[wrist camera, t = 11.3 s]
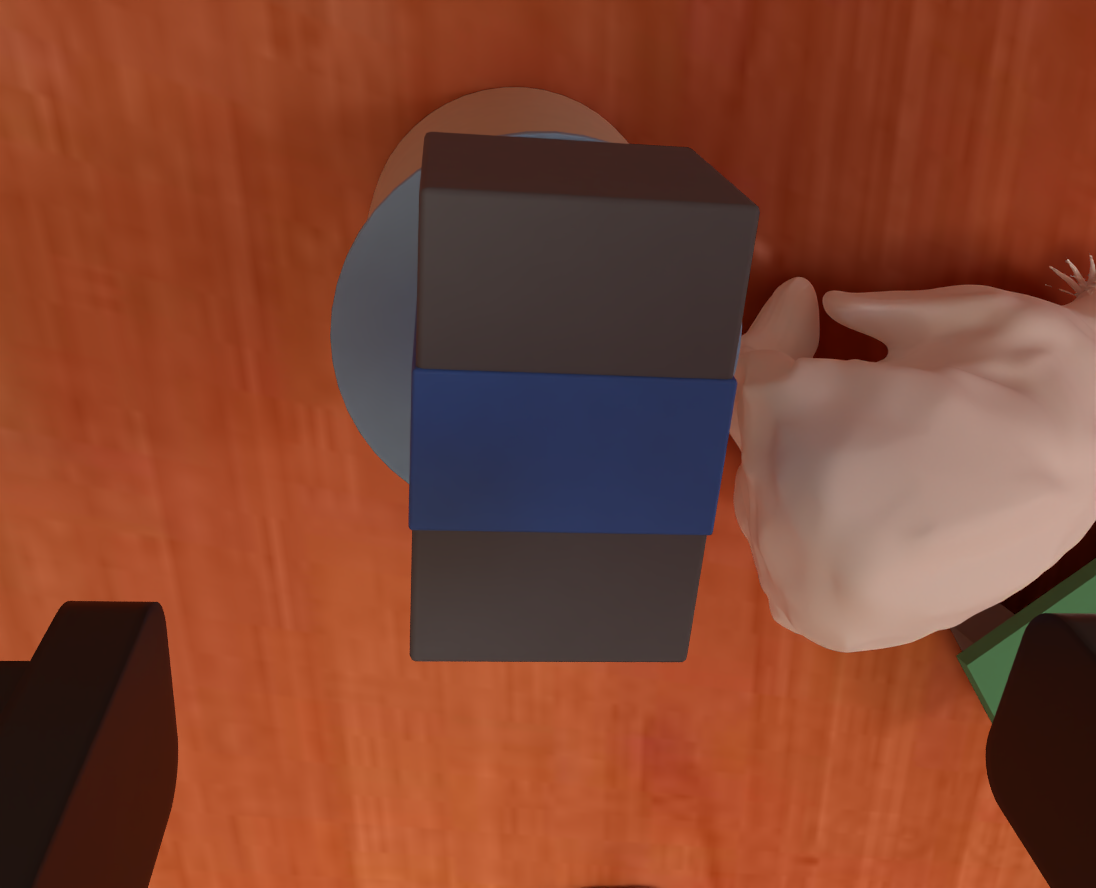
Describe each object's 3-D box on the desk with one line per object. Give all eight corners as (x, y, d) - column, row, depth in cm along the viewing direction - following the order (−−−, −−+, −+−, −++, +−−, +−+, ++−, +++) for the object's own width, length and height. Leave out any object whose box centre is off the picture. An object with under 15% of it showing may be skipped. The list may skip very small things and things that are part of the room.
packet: (420, 129, 16) (413, 188, 12) (694, 146, 16) (768, 207, 13) (413, 524, 19) (405, 666, 15) (644, 528, 19) (691, 667, 16)
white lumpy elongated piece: (791, 457, 17) (1458, 274, 18) (649, 301, 24) (1120, 178, 25) (822, 747, 20) (1395, 576, 20) (686, 526, 27) (1108, 408, 28)
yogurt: (359, 65, 22) (326, 118, 16) (683, 87, 23) (774, 147, 16) (360, 372, 25) (333, 519, 19) (645, 382, 26) (711, 526, 20)
